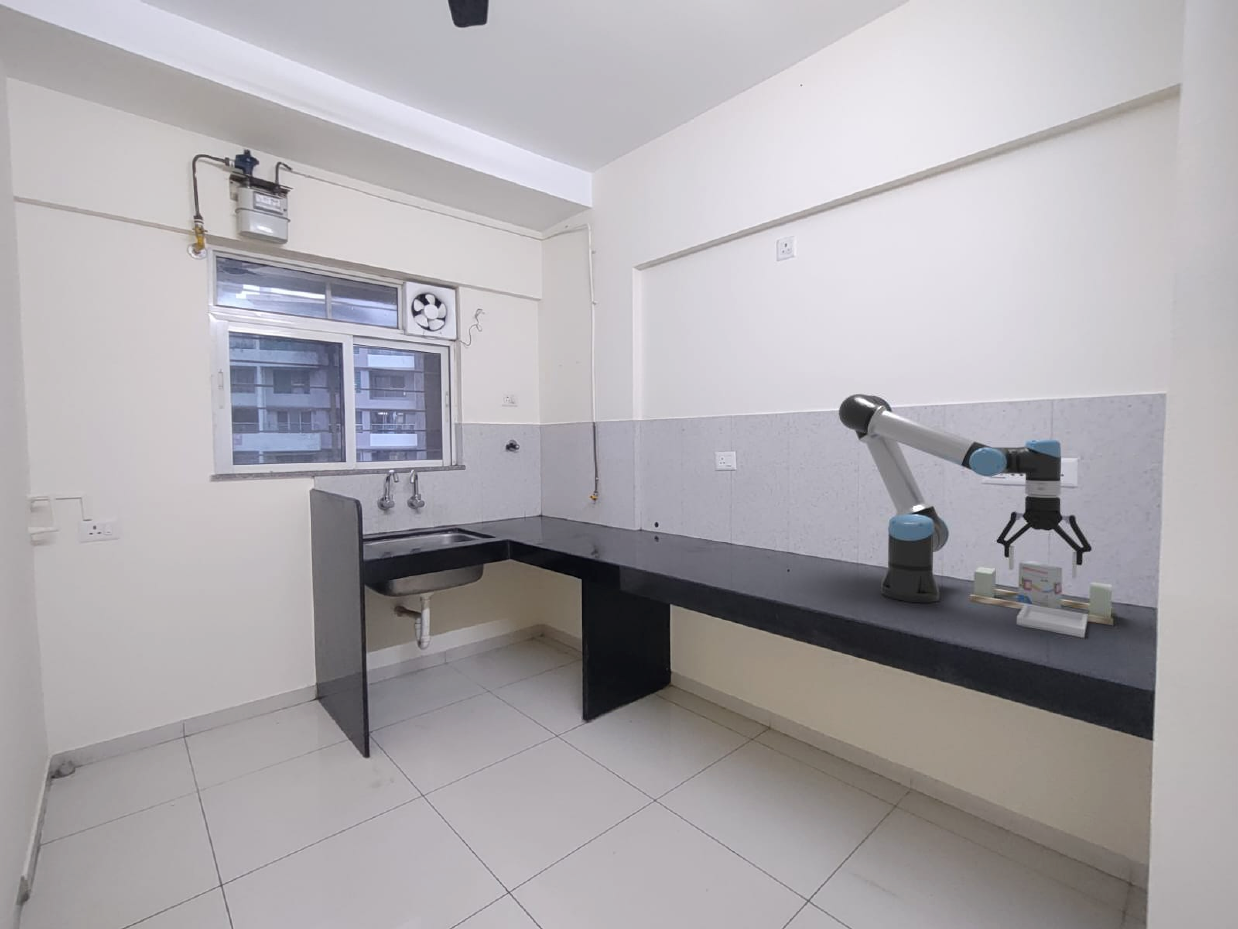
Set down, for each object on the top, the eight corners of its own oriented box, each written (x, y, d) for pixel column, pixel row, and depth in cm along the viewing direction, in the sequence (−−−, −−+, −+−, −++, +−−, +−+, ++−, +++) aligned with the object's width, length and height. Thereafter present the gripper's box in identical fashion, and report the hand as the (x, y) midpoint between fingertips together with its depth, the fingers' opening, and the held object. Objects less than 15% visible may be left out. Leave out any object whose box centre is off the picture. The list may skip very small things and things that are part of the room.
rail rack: (969, 600, 151) (969, 595, 151) (978, 591, 160) (978, 586, 160) (1112, 625, 130) (1113, 619, 130) (1113, 613, 140) (1113, 607, 140)
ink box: (1016, 603, 148) (1017, 561, 148) (1028, 601, 150) (1029, 560, 150) (1050, 612, 141) (1051, 568, 140) (1062, 610, 142) (1063, 566, 142)
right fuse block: (1088, 618, 135) (1090, 588, 135) (1090, 611, 141) (1091, 582, 141) (1110, 622, 132) (1111, 591, 132) (1110, 614, 138) (1111, 584, 138)
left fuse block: (973, 598, 153) (974, 571, 152) (979, 593, 158) (979, 566, 158) (990, 601, 150) (991, 574, 149) (995, 595, 156) (995, 569, 155)
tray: (1016, 624, 131) (1016, 617, 131) (1024, 611, 141) (1024, 603, 141) (1084, 637, 122) (1084, 629, 122) (1087, 622, 133) (1087, 614, 133)
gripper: (985, 494, 150) (984, 568, 151) (1104, 499, 133) (1103, 583, 133) (990, 492, 155) (989, 564, 156) (1104, 497, 138) (1103, 577, 139)
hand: (1041, 573), depth 145 cm, fingers open, 13 cm apart
